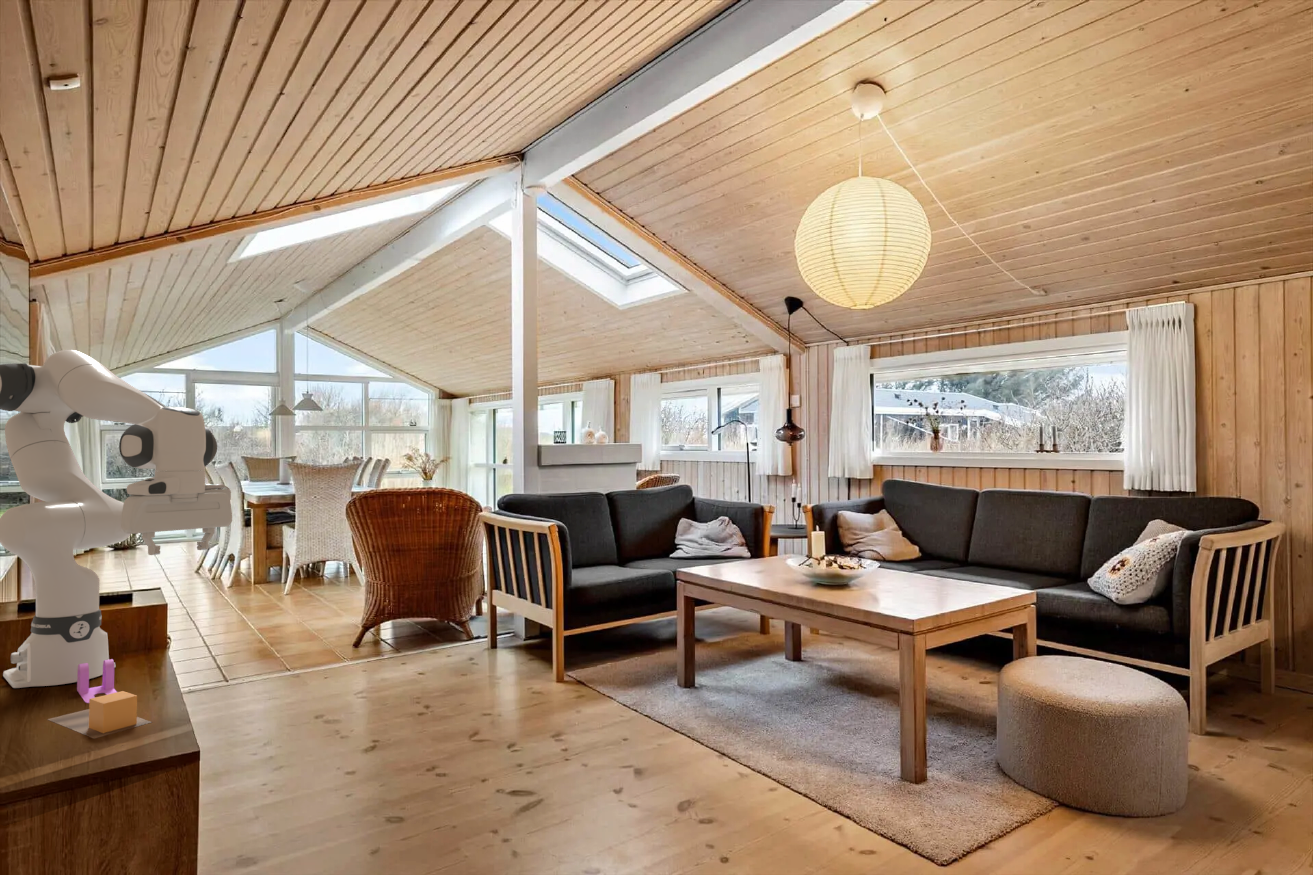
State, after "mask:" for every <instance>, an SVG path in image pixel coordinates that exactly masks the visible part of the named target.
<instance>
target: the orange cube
mask: <svg viewBox="0 0 1313 875" xmlns="http://www.w3.org/2000/svg"><path fill="white" fill-rule="evenodd" d="M88 709H89V728H91V729H94V730H96V731H99V732H101V733H106V732H109V731H113V730H116V729H120V728H124V727H127V726H131V725H135V724H137V717H138V695H137V694H133V693H130V692H126V691H124V690H122V691H117V692H116V693H112V694H108V695H106V694H105V695H99V696H96V697H95V698H91V699H89V703H88Z"/></svg>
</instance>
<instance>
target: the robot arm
mask: <svg viewBox="0 0 1313 875" xmlns="http://www.w3.org/2000/svg"><path fill="white" fill-rule="evenodd" d="M0 410H2V411H6V412H13V411H15V412H18V413H16V414H14V415H12V416H11V417H10V418H9V419H8V420H7V422H6V423H5V426H4V437H5V442H6V443H5V444H6V449H7V452H8V456H9V458H10V461H11V464H12V467H13V469H14V472H15V474H16V477H17V480H18V483H19V486H20V488H21V489H22V490H23V492H25V493H26V494H27V495H28V496H31V497H32V498H35V499H38V500H41V502H40V501H39V502H32V503H27V504H22V505H19V506H15V507H11V508H10V507H9V508H8V509H7V510H6V511H5V512H3V514H2V515H1V517H0V545H1V546H2V547H3V549H5V550H6V551H7V552H10V553H12V554H14V555H15V556H16V557H18V558H19V559H21V560H22V562H23V563H24V564H25V565H26V566H27V567H28V569H29V571H30V573H31V575H32V578H33V581H34V591H35V615H34V616H33V618H32V621H31V624H30V626H31V628H30V632H31V633H30V635H29V636H28V637H27V638H26V640H24V641H23V643H22V644H21V645H20V646H19V647H18V649H17V652H16V651H14V652H12V653H11V654H10V663H11V664H16V667H12V668H9V669H7V670H3V673H2V676H3V678H4V680H6V681H7V682H8V684H9V685H10V686H11V687H12V688H13V689H20V688H21V689H22V688H29V687H45V686H46V687H47V686H48V687H49V686H58V685H65V684H72V683H77V674H78V665H79V664H83V663H88V665H89V680H90V679H94V678H97V677H100V676H103V662H104V660H110V655H109V639H108V632H106V631H105V630H103V629H102V628H101V627H100V626H102V617H103V616H102V610H101V609H100V578H99V576H98V574H97V573H96V572H95V571H94V570H92V569H90V568H88V567H86V566H84V565H80V564H78V563H77V561H76V560H75V556H74V551H75V550H76V551H77V550H84V549H85V550H86V549H95V548H103V547H104V548H105V547H107V546H112V545H115V544H118V543H121V542H124V541H126V540H127V539H129V537H130V536H131V535H132V534H141V539H142V540H143V542H144V543H145V544H146V546H147V554H148V556H156V555H157V556H158V555H161V545H157V544H156V543H155V542H154V540H153V539H154V538H155V537H156V533H159V532H172V531H173V532H174V531H184V530H185V531H186V530H197V529H198V530H201V529H202V534H203V536H202V538H201V540H198V541H197V542H196V545H197V546H196V549H197V551H207V550H208V549H209V545H210V544H209V542H210V541H211V539H212V538H213V536H214V534H215V529H216V528H224V527H225V528H227V527H230V526H231V524H232V522H233V511H232V504H231V500H232V491H231V489H230V488H229V486H227V485H225V484H223V483H217V484H210V483H207V484H206V467H207V466H208V465H209V464H210V463H211V462H213V460H214V459H215V456H216V454H217V451H218V443H217V439H216V436H215V435H214V434H213V433H212V431H211V430H210V429H209V428H208V427H206V425H205V424H206V423H205V419H204V416H203V414H202V412H200V411H199V410H197V409H193V408H189V407H181V406H166V404H163V403H162V402H160V400H158V399H156V398H154V397H152V396H150V395H148V394H147V393H145V392H143V391H141V389H138V388H136V387H135V386H133V385H131V384H129V383H128V382H127V381H125V380H123V379H122V378H120V377H119V376H117V375H116V374H115V373H113V372H112V371H111V370H110V369H108V368H107V367H106V366H105V365H104V364H102V363H101V362H99V361H98V360H96V359H95V358H93V357H91V356H89V355H88V354H85V353H83V352H82V351H79V350H74V349H62V350H59V351H55V352H54V353H52V354H51V355H50V356H48V357H47V358H46V359H45V361H44V362H43V365H33V364H27V363H25V362H24V363H21V362H18V363H17V362H15V363H14V362H13V363H3V364H0ZM83 417H86V418H87V419H91V420H97V421H104V422H112V423H113V422H115V423H122V424H123V423H124V424H129V425H130V424H132V425H130V426H129V427H128V428H126V429H125V430H124V431H123V433H122V435H121V436H120V438H119V445H118V448H119V454H120V456H121V458H122V460H123V461H124V462H125V463H126V464H127V465H128V466H129V467H131V468H136V469H139V470H140V469H141V470H143V469H144V470H154V476H153V477H148V478H145V479H143V480H139V481H136V482H132V483H130V484H128V485H127V486H126V493H127V494H128V495H130V496H128V497H126V498H125V500H124V502H123V501H120V500H118V499H115V497H112V496H110V495H108V494H106V493H105V492H104V491H102V490H101V489H99V488H98V487H97V486H96V485H95V484H94V483H93V482H92V481H90V479H89V478H88V477H87V476H86V475H85V473H84V472H83V471H82V468H81V467H80V465H79V462H78V460H77V457H76V455H75V454H74V452H73V451H74V450H73V449H72V445H71V444H70V442H69V440H68V438H67V435H66V433H65V429H64V428H65V423H69V424H75V423H79V422H80V421H81V419H82V418H83ZM115 668H116V662H114V669H115Z"/></svg>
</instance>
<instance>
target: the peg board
mask: <svg viewBox="0 0 1313 875" xmlns="http://www.w3.org/2000/svg"><path fill="white" fill-rule="evenodd" d="M46 720H47V721H50V722H51V723H55V724H57V725H59V726H62V727H65V728H66V729H69V730H71V731H74V732H76V733H79V734H82V735H84V736H87V737H89V738H91V739H98V738H101V737H105V736H109V735H112V734H116V733H120V732H123V731H127V730H130V729H133V728H138V727H141V726H144V725H147V724H152V723H153V722H152V721H150V720H147V719H144V718H141V717H139V716H137V724H135V725H131V726H127V727H124V728H120V729H116V730H113V731H109V732H106V733H101V732H99V731H96V730H94V729H91V728H89V708H88V709H84V710H79V711H75V712H71V713H67V714H63V715H60V716H55V717H51V718H48V719H46Z"/></svg>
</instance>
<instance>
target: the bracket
mask: <svg viewBox="0 0 1313 875" xmlns="http://www.w3.org/2000/svg"><path fill="white" fill-rule="evenodd" d="M101 682H102V683H101V685H99V686H94V687H93V686H92V687H90V679H89V665H88V663H83V664H79V665H78V674H77V682H76V691H77V692H78V694H79V695H80V697H81V698H82V699H83V702H84V703H86V704H89V699H91V698H95V696H96V695H98V694H105V695H108V694H112V693H116V692H118V691H117V690H116V689H115V668H114V659H113V658H111V659H110V658H109V660H104V662H103V674H102V681H101Z"/></svg>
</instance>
